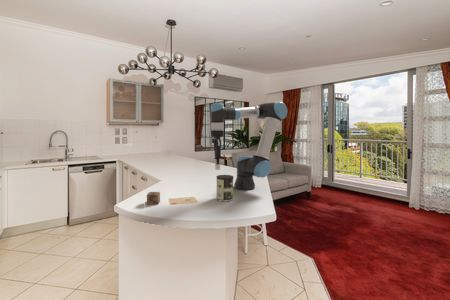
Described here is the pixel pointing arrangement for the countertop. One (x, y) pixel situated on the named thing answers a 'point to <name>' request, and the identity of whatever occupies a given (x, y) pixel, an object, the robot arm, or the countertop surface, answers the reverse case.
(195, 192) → the countertop surface
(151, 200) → the walnut block
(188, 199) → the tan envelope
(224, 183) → the coffee can
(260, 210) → the countertop surface
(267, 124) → the robot arm
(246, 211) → the countertop surface
